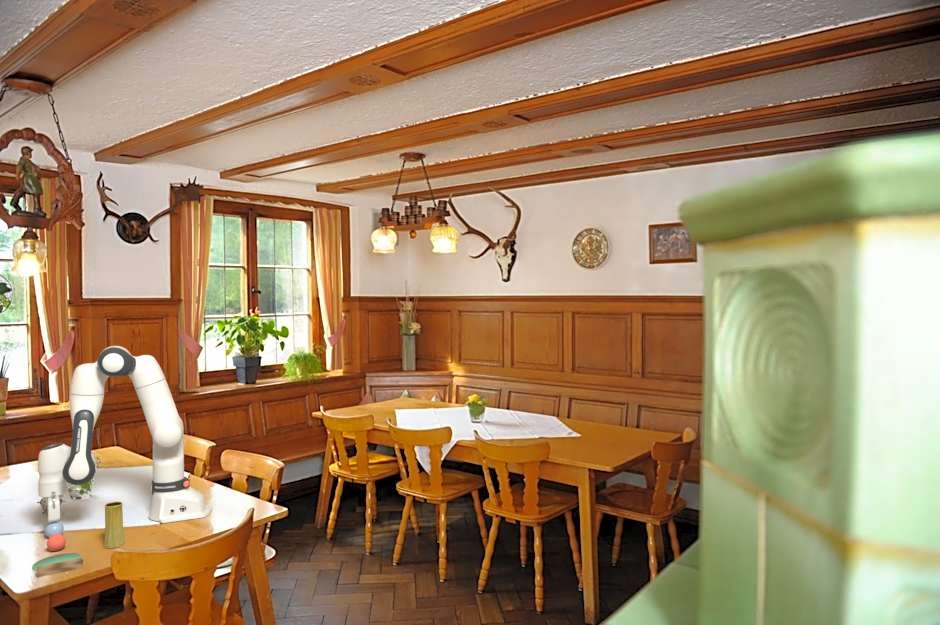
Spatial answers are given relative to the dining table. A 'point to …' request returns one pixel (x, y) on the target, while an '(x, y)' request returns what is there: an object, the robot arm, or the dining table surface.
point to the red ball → (56, 542)
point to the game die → (44, 505)
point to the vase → (113, 525)
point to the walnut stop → (59, 567)
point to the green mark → (56, 559)
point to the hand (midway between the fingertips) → (53, 526)
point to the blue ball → (54, 529)
